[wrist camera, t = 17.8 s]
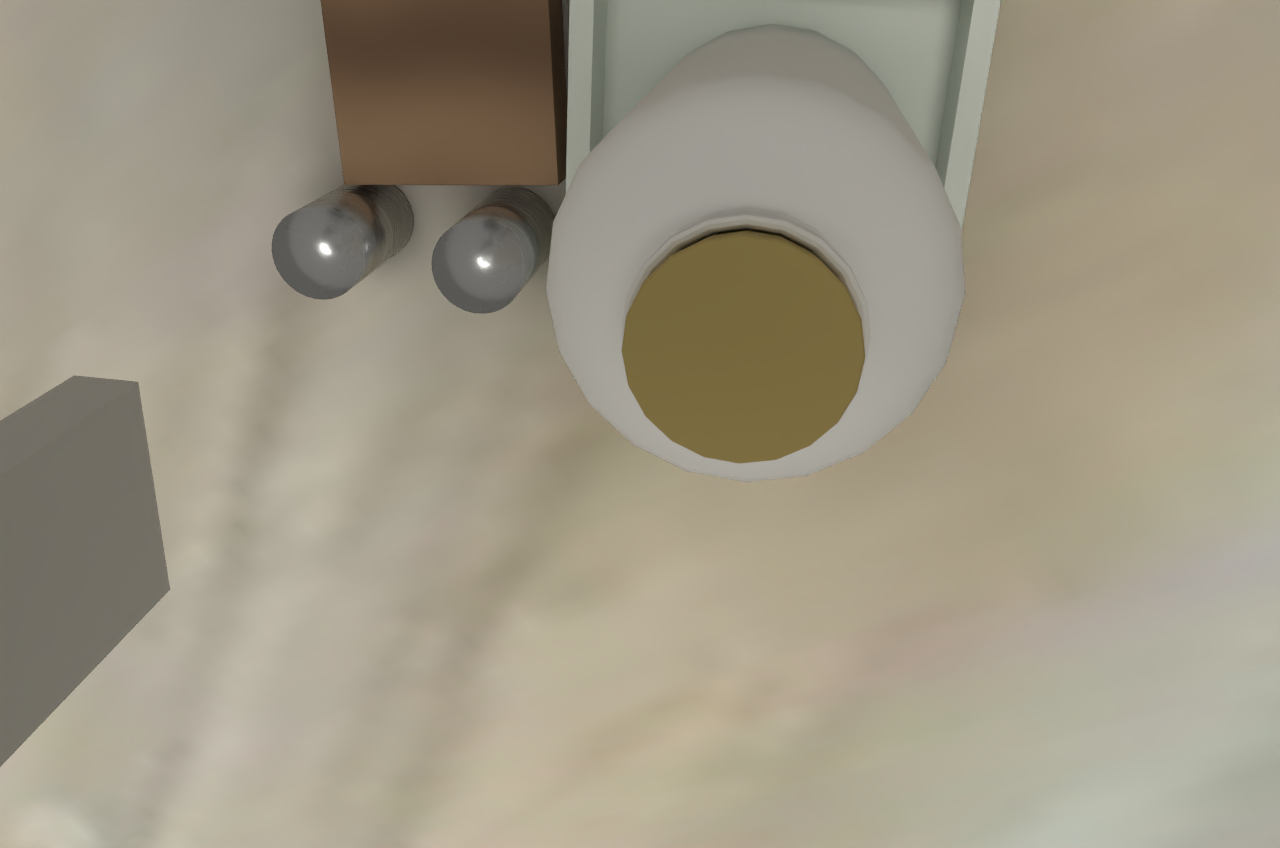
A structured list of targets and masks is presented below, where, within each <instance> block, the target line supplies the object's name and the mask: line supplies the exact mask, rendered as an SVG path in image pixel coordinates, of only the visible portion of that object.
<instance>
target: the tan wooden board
mask: <svg viewBox="0 0 1280 848" xmlns="http://www.w3.org/2000/svg"><path fill="white" fill-rule="evenodd" d="M321 7H322V14H323V22H324V30H325V38H326V45H327V53H328V61H329V69H330V76H331V84H332V92H333V100H334V107H335V115H336V123H337V131H338V138H339V146H340V154H341V161H342V169H343V177H344V185H559V184H560V183H561V182H562V181H563V180H564V179H565V178H566V154H567V96H566V75H565V54H564V33H563V13H562V0H321Z"/></svg>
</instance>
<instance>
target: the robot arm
mask: <svg viewBox="0 0 1280 848" xmlns="http://www.w3.org/2000/svg"><path fill="white" fill-rule="evenodd" d="M169 590H170V586H169V580H168V573H167V567H166V560H165V554H164V547H163V541H162V534H161V528H160V521H159V515H158V508H157V502H156V495H155V489H154V482H153V476H152V469H151V463H150V456H149V450H148V443H147V437H146V430H145V424H144V417H143V411H142V404H141V398H140V391H139V385H138V382H134V381H124V380H114V379H104V378H94V377H84V376H73V377H71V378H69V379H68V380H66V381H64V382H63V383H61V384H60V385H58V386H56V387H55V388H53V389H51V390H50V391H48V392H46V393H45V394H43V395H42V396H40V397H38V398H37V399H35V400H33V401H32V402H30V403H29V404H27V405H25V406H24V407H22V408H20V409H19V410H17V411H15V412H14V413H12V414H11V415H9V416H7V417H6V418H4V419H2V420H1V421H0V767H1V766H2V764H3V763H4V762H5V761H6V760H7V759H8V758H9V757H10V756H11V755H12V754H13V753H14V752H15V751H16V750H17V749H18V748H19V747H20V746H21V745H22V744H23V743H24V741H25V740H26V739H27V738H28V737H29V736H30V735H31V734H32V733H33V732H34V731H35V730H36V729H37V728H38V727H39V726H40V725H41V724H42V723H43V722H44V721H45V720H46V719H47V717H48V716H49V715H50V714H51V713H52V712H53V711H54V710H55V709H56V708H57V707H58V706H59V705H60V704H61V703H62V702H63V701H64V700H65V699H66V698H67V697H68V696H69V694H70V693H71V692H72V691H73V690H74V689H75V688H76V687H77V686H78V685H79V684H80V683H81V682H82V681H83V680H84V679H85V678H86V677H87V676H88V675H89V674H90V673H91V671H92V670H93V669H94V668H95V667H96V666H97V665H98V664H99V663H100V662H101V661H102V660H103V659H104V658H105V657H106V656H107V655H108V654H109V653H110V652H111V651H112V650H113V648H114V647H115V646H116V645H117V644H118V643H119V642H120V641H121V640H122V639H123V638H124V637H125V636H126V635H127V634H128V633H129V632H130V631H131V630H132V629H133V628H134V627H135V625H136V624H137V623H138V622H139V621H140V620H141V619H142V618H143V617H144V616H145V615H146V614H147V613H148V612H149V611H150V610H151V609H152V608H153V607H154V606H155V605H156V604H157V602H158V601H159V600H160V599H161V598H162V597H163V596H164V595H165V594H166V593H167V592H168V591H169Z"/></svg>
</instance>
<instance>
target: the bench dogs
mask: <svg viewBox="0 0 1280 848" xmlns="http://www.w3.org/2000/svg"><path fill="white" fill-rule="evenodd" d="M554 219H555V218H554V215H553V213H552V211H551V210H550V208H549V206H548V205H547V204H546V203H545V202H544V201H543V200H542V199H541V198H540V197H539V196H538V195H536V194H534V193H533V192H530V191H528V190H525V189H522V188H505V189H501V190H499V191H496V192H495V193H493V194H491V195H490V196H489V197H488V198H487V199H485V200H484V201H483V202H482V203H480V204H479V205H478V206H477V207H476V208H474V209H473V210H472V211H471V212H469V213H468V214H467V215H466V216H465V217H463V218H462V219H461V220H460V221H459V222H457V223H456V224H455V225H454V226H452V227H451V228H450V229H449V230H448V231H446V232H445V233H444V234H443V235H442V236H441V237H440V239H439V240H438V242H437V244H436V246H435V248H434V251H433V255H432V272H433V276H434V279H435V282H436V284H437V286H438V288H439V289H440V291H441V292H442V294H443V295H444V296H445V297H446V298H447V299H448V300H449V301H450V302H451V303H453V304H454V305H455V306H457V307H459V308H461V309H463V310H465V311H469V312H473V313H491V312H495V311H498V310H500V309H502V308H504V307H505V306H507V305H508V304H509V303H510V302H511V301H512V300H513V299H514V298H515V297H516V296H517V294H518V293H519V292H520V291H521V289H522V288H523V287H524V285H525V284H526V283H527V282H528V280H529V279H530V278H531V277H532V275H533V274H534V273H535V272H536V270H537V269H538V268H539V267H540V265H541V264H542V263H543V262H544V260H545V259H546V258H547V257H548V255H549V254H550V246H551V237H552V227H553V221H554ZM412 231H413V214H412V210H411V207H410V204H409V202H408V200H407V199H406V197H405V196H404V194H403V193H402V192H401V191H400V190H399V189H398V188H397V187H396V186H395V185H343V186H341V187H339V188H338V189H336V190H334V191H332V192H330V193H328V194H326V195H324V196H323V197H321V198H319V199H317V200H315V201H313V202H311V203H309V204H308V205H306V206H304V207H302V208H300V209H298V210H296V211H294V212H293V213H291V214H289V215H288V216H286V217H285V218H284V219H283V220H282V221H281V222H280V223H279V225H278V226H277V228H276V230H275V232H274V235H273V239H272V255H273V259H274V263H275V265H276V268H277V270H278V272H279V273H280V275H281V276H282V278H283V279H284V280H285V281H286V282H287V284H288V285H290V286H291V287H292V288H293V289H294V290H296V291H297V292H299V293H301V294H303V295H305V296H308V297H311V298H315V299H332V298H335V297H338V296H340V295H342V294H344V293H346V292H347V291H348V290H349V289H351V288H352V287H353V286H355V285H356V284H357V283H358V282H360V281H361V280H362V279H364V278H365V277H366V276H368V275H369V274H370V273H371V272H373V271H374V270H375V269H377V268H378V267H379V266H380V265H382V264H383V263H384V262H386V261H387V260H388V259H390V258H391V257H392V256H393V255H395V254H396V253H397V252H399V251H400V250H401V249H402V248H403V247H404V246H405V245H406V244H407V242H408V241H409V239H410V237H411V234H412Z"/></svg>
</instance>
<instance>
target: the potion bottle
mask: <svg viewBox="0 0 1280 848" xmlns="http://www.w3.org/2000/svg"><path fill="white" fill-rule="evenodd" d="M546 293H547V297H548V302H549V307H550V311H551V316H552V320H553V325H554V330H555V334H556V339H557V344H558V348H559V352H560V354H561V356H562V357H563V359H564V361H565V363H566V364H567V366H568V368H569V369H570V371H571V373H572V375H573V376H574V378H575V380H576V382H577V383H578V385H579V387H580V389H581V390H582V392H583V394H584V396H585V397H586V399H587V401H588V403H589V404H590V405H591V406H592V407H593V408H594V409H595V410H596V411H598V412H599V413H600V414H601V415H602V416H603V417H604V418H605V419H606V420H607V421H608V422H609V423H610V424H611V425H613V426H614V427H615V428H616V429H617V430H618V431H619V432H620V433H621V434H622V435H623V436H624V437H625V438H626V439H628V440H629V441H630V442H631V443H632V444H633V445H635V446H637V447H639V448H641V449H643V450H645V451H647V452H649V453H651V454H653V455H655V456H657V457H659V458H661V459H663V460H665V461H667V462H669V463H671V464H673V465H675V466H677V467H679V468H681V469H683V470H685V471H688V472H694V473H699V474H705V475H710V476H716V477H721V478H727V479H732V480H738V481H743V482H751V481H761V480H771V479H781V478H791V477H801V476H807V475H810V474H812V473H815V472H817V471H820V470H822V469H825V468H827V467H830V466H832V465H835V464H837V463H840V462H842V461H845V460H847V459H849V458H852V457H854V456H857V455H859V454H862V453H864V452H865V451H866V450H868V449H869V448H870V447H871V446H872V445H874V444H875V443H876V442H877V441H879V440H880V439H881V438H882V437H884V436H885V435H886V434H887V433H889V432H890V431H891V430H892V429H894V428H895V427H896V426H897V425H899V424H900V423H901V422H902V421H904V420H905V419H906V418H907V417H908V416H910V415H911V414H912V413H913V411H914V410H915V408H916V407H917V405H918V404H919V402H920V401H921V399H922V398H923V396H924V395H925V393H926V392H927V390H928V389H929V387H930V385H931V384H932V382H933V381H934V379H935V378H936V376H937V375H938V373H939V372H940V370H941V369H942V367H943V366H944V364H945V363H946V361H947V357H948V354H949V350H950V346H951V343H952V339H953V335H954V332H955V328H956V324H957V321H958V317H959V313H960V310H961V306H962V302H963V299H964V295H965V282H964V267H963V252H962V237H961V226H960V224H959V222H958V219H957V217H956V215H955V212H954V210H953V208H952V205H951V203H950V201H949V198H948V196H947V194H946V191H945V189H944V187H943V184H942V182H941V180H940V177H939V175H938V173H937V170H936V168H935V166H934V164H933V162H932V161H931V159H930V158H929V156H928V154H927V153H926V151H925V149H924V148H923V146H922V145H921V143H920V141H919V140H918V138H917V136H916V135H915V133H914V132H913V130H912V128H911V127H910V125H909V123H908V122H907V120H906V119H905V117H904V115H903V114H902V112H901V110H900V109H899V107H898V105H897V104H896V102H895V101H894V99H893V97H892V96H891V94H890V92H889V91H888V89H887V88H886V86H885V84H884V83H883V82H882V81H881V80H880V79H879V78H878V77H877V76H876V74H875V73H874V72H873V71H872V70H871V69H870V68H869V67H868V66H867V65H866V64H865V62H864V61H863V60H862V59H861V58H860V57H859V56H858V55H857V54H856V53H855V52H854V51H853V50H851V49H849V48H847V47H845V46H843V45H841V44H839V43H838V42H836V41H834V40H832V39H830V38H828V37H826V36H824V35H823V34H821V33H819V32H817V31H815V30H808V29H802V28H795V27H789V26H783V25H776V24H767V25H761V26H756V27H750V28H744V29H739V30H733V31H728V32H725V33H724V34H722V35H720V36H718V37H716V38H714V39H713V40H711V41H709V42H707V43H705V44H704V45H702V46H700V47H698V48H696V49H694V50H693V51H691V52H689V53H687V54H686V55H685V56H684V57H683V58H682V59H681V60H680V61H679V62H678V63H677V64H676V65H675V66H674V67H673V68H672V69H671V70H670V71H669V72H668V73H667V74H666V75H665V76H664V77H663V78H662V79H661V80H660V81H659V82H658V83H657V84H656V85H655V86H654V87H653V88H652V89H651V90H650V91H649V92H648V93H647V94H646V95H645V96H644V97H643V98H642V99H641V100H640V101H639V102H638V103H637V104H636V105H635V106H634V107H633V108H632V109H631V110H630V111H629V112H628V113H627V114H626V115H625V116H624V117H623V118H622V119H621V120H620V121H619V122H618V123H617V125H616V126H615V127H614V128H613V129H612V130H611V131H610V132H609V133H608V134H607V135H606V136H605V137H604V138H603V140H602V141H601V142H600V143H599V144H598V145H597V146H596V147H595V148H594V149H593V150H592V151H591V152H590V153H589V154H588V156H587V157H586V158H585V159H584V160H583V161H582V162H581V163H580V164H579V167H578V169H577V171H576V173H575V175H574V178H573V180H572V182H571V184H570V186H569V188H568V191H567V193H566V195H565V197H564V199H563V202H562V204H561V206H560V208H559V210H558V213H557V215H556V217H555V219H554V221H553V227H552V237H551V246H550V256H549V265H548V275H547V284H546Z"/></svg>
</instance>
